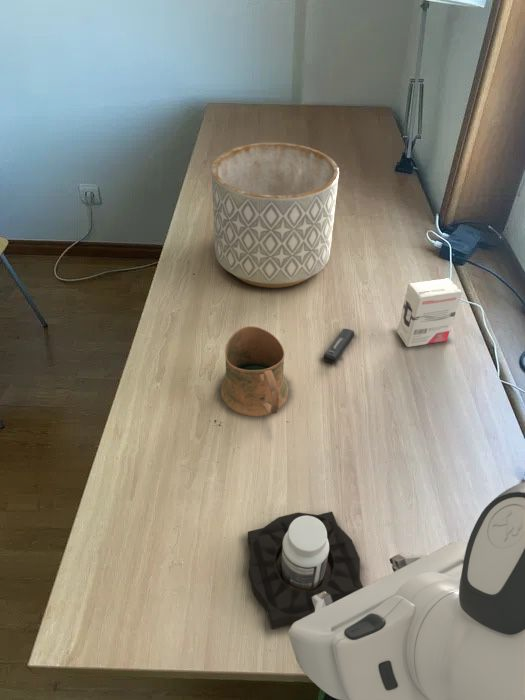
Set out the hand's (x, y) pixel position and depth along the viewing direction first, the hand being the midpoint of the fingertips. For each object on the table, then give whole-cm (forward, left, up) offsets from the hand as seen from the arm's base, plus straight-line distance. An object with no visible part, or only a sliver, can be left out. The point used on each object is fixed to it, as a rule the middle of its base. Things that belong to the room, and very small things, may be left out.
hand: (359, 581), depth 58 cm
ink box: (+48, -35, -14) cm, 61 cm away
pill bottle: (+9, +2, -14) cm, 17 cm away
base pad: (+9, +2, -14) cm, 17 cm away
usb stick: (+49, -18, -14) cm, 54 cm away
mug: (+39, 0, -14) cm, 42 cm away
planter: (+80, -14, -14) cm, 82 cm away
